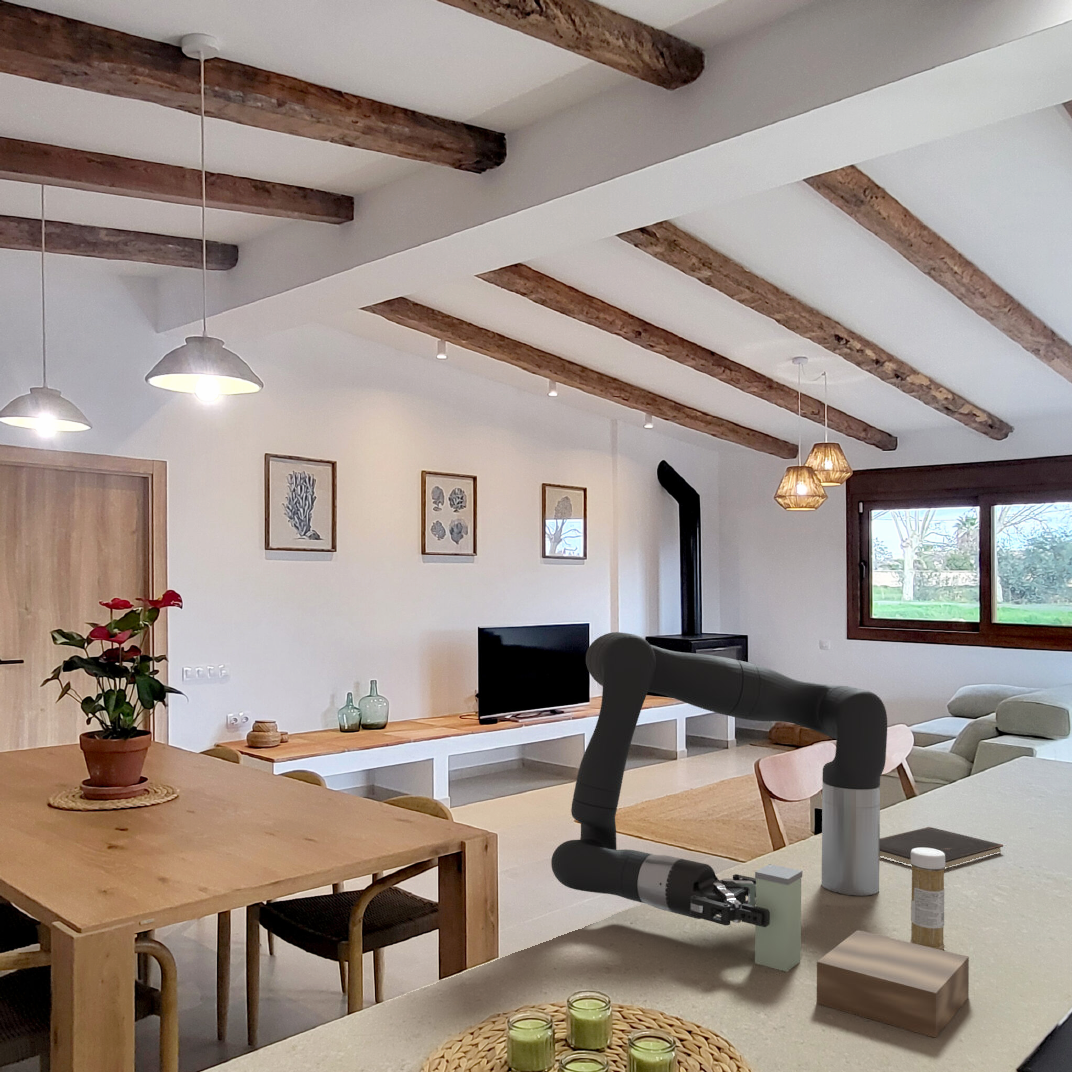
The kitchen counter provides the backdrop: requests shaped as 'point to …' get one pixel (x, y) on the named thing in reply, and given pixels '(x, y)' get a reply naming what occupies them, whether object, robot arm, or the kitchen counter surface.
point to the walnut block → (894, 982)
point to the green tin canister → (779, 917)
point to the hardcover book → (936, 845)
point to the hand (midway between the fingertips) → (782, 910)
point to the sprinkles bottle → (927, 897)
